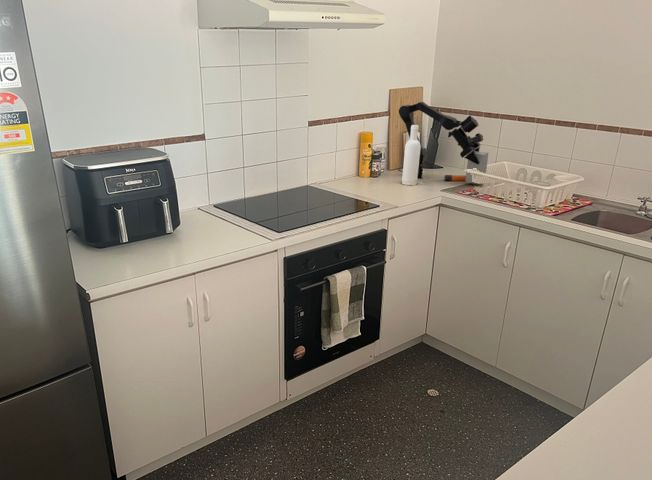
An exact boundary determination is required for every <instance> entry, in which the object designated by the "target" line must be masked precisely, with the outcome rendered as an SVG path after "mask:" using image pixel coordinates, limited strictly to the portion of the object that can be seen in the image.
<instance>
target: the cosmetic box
mask: <svg viewBox="0 0 652 480" xmlns="http://www.w3.org/2000/svg"><path fill="white" fill-rule="evenodd" d="M475 156H476V157H477V159H478V161H479V164H476V163H474V162H472V161H470V160H468V159H467V163H466V164H467V165H466V170H467V169H473V168H477V170H479V171H480V172H483V173H486V174H487V167H488V159H489V152H485V151H479V152H477V151H475ZM465 176H466V180H465V181H464V182H465V183H469V184H474V183H473V182H472V175H471V174H470V173H467V171H466V173H465Z"/></svg>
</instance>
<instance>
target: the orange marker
mask: <svg viewBox="0 0 652 480" xmlns="http://www.w3.org/2000/svg"><path fill="white" fill-rule="evenodd" d="M443 179H444V181H445V182H446V181H447V182H448V181H449V182H465V180H466V175H460V174H459V175H453V174H445V175H444V177H443Z"/></svg>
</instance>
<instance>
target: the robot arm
mask: <svg viewBox="0 0 652 480" xmlns="http://www.w3.org/2000/svg"><path fill="white" fill-rule="evenodd" d="M417 111H420V112H421V113H423V114H425V115H427V116H428V117H430V118H432V119H433V120H434V121H437V122H438V123H439V124H440V126H441V127H443V128H444V129H445V130H446V131H448V133H447V134H448V135H447V138H451V137H452V138H454V140H455V141H456V142H457V146H458V147H460V148H461V149H462V151H461V152H460V154H459V155H460V157H461V159H463V158H464V159H466V160H467V161H468V160H470V161H472V162H474V163H476V164H479V161H478V159H477V157H476V156H475V151H477V152H480V149H481V144H480V143H482V142H483V141H484V136H483V134H482V133H480V132H478V133H475V136H473V137H471V136H470V135H467V134H466V133H468V134H470V133H471V132H473V130H475V129H476V128H478V126H479V122H478V121H477V120H476V119H475V118H474V117H473V116H472V115H468V116H467V117H466V118H465V119H464V120H462V121H460V120H459V119H457V118H456V117H453V116H450V115H447V114H444V113H442V112H440V111H439V110H437V109H435V108H434V107H432V106H430V105H428V104H426V103H425V101H420V102H417V103H415V104H412V105H411V104H405V105H401V106H400V107H399V109H398V115H399V116H400V118H401V121H403V123H404V125H405V128H406V131H407V135H408V137H409V139H410V134H411V126H412V125H416V124H415V120H414V119H415V117H414V115H415V112H417ZM451 130H452V131H451ZM417 140H418V141H419V142H420V146H421V148H420V158H419V167H418V177H417V178H418V179H422V177H423V171H424V170H423V166H422V165H423V164H424V163H425V162H427V159H428V155H429V154H428V152H427V149H426V147H424V148H423V146H422V144H421V141H420V139H419V136H418V137H417Z"/></svg>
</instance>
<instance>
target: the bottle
mask: <svg viewBox="0 0 652 480" xmlns="http://www.w3.org/2000/svg"><path fill="white" fill-rule="evenodd" d="M419 126H420V125H418V124H415V125H412V126H411V134H410V138H409V139H408V140H407V141H406V142H405V145H404V154H403V165H402V176H401V184H402V185H405V186H415V185H417V183H418V179H419V178H417V177H418V167H419V158H420V148H421V147H422V145H421V146H420V144H421V141H420V140H419V141H420V142H419V141H418V140H417V137H418V138H419V129H420V128H419Z"/></svg>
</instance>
